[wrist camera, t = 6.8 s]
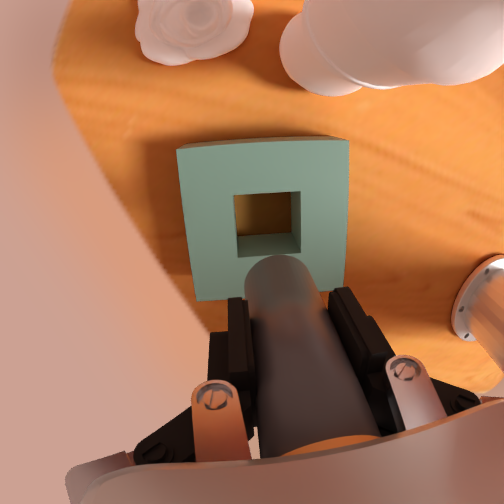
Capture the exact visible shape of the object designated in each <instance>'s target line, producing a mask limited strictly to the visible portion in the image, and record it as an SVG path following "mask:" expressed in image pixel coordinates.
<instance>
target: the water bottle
mask: <svg viewBox="0 0 504 504" xmlns="http://www.w3.org/2000/svg"><path fill="white" fill-rule="evenodd" d="M279 52H280V58H281V62H282V65H283V67H284V69H285V71H286V73H287V74H288V75H289V77H290V78H291V79H292V80H294V81H295V82H296V83H298V84H299V85H300V86H302V87H303V88H305V89H306V90H307V91H309V92H311V93H314V94H318V95H322V96H342V95H346V94H350V93H352V92H355V91H357V90H359V89H360V88H362V87H367V88H373V89H390V88H396V87H400V86H404V85H415V84H428V83H432V84H438V85H458V84H463V83H469V82H472V81H474V80H477V79H479V78H482V77H484V76H487V75H489V74H490V73H492V72H493V71H495V70H496V69H497V68H499V67H500V66H501V65H502V64H503V63H504V0H305V1H304V4H303V10H302V12H300V13H299V14H297V15H296V16H294V17H293V18H292V19H291V20H290V21H289V23H288V24H287V26H286V28H285V29H284V31H283V33H282V36H281V40H280V45H279Z"/></svg>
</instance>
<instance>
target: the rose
mask: <svg viewBox="0 0 504 504" xmlns="http://www.w3.org/2000/svg"><path fill="white" fill-rule="evenodd" d="M138 9H139V15H138V17H137V20H136V25H135V36H136V39H137V40H138V41H139V42H140V45H141V49H142V53H143V54H144V55H145V56H146V57H147V58H148V59H150V60H152V61H154V62H158V63H161V64H164V65H167V66H176V65H182V64H186V63H188V62H191V61H194V60H197V59H198V60H204V59H211V58H215V57H218V56H220V55H223V54H225V53H228V52H230V51H232V50H234V49H235V48H237V47H238V46H239V45H240V44H241V43H242V42H243V41H244V40H245V38H246V37H247V35H248V32H249V27H250V22H251V19H252V17H253V14H254V7H253V4H252V2H251V1H250V0H138Z"/></svg>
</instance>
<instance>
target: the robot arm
mask: <svg viewBox="0 0 504 504" xmlns="http://www.w3.org/2000/svg"><path fill="white" fill-rule="evenodd" d="M328 313H329V315H330V317H331V319H332V322H333V324H334V326H335V328H336V330H337V333H338V335H339V337H340V339H341V342H342V344H343V346H344V348H345V351H346V353H347V355H348V358H349V360H350V362H351V364H352V367H353V369H354V371H355V374H356V376H357V378H358V381H359V383H360V385H361V388H362V390H363V393H364V395H365V397H366V400H367V402H368V404H369V407H370V409H371V412H372V414H373V417H374V419H375V422H376V424H377V426H378V429H379V431H380V434H381V436H382V437H381V438H377V439H373V440H369V441H365V442H361V443H357V444H352V445H347V446H343V447H338V448H333V449H327V450H322V451H316V452H310V453H303V454H296V455H289V456H281V457H273V458H263V459H252V457H251V453H250V448H249V444H248V441H249V440H250V439H251V438H252V437H253V436H254V427H257V419H256V409H255V399H256V395H257V387H256V374H255V363H254V354H253V345H252V335H251V325H250V316H249V306H248V300H242V297H233V298H228V331H226V332H211V333H210V342H209V359H208V378H207V381H206V382H204V383H202V384H200V385H199V386H197V387H196V388H195V389H194V391H193V393H192V397H191V404H192V406H190V407H189V408H188V409H186V410H185V411H184V412H182V413H181V414H179V415H178V416H176V417H175V418H174V419H172V420H171V421H169V422H168V423H167V424H165V425H164V426H162V427H161V428H159V429H158V430H157V431H155V432H154V433H152V434H151V435H149V436H148V437H146V438H145V439H143V440H142V441H141V442H140V443H138V444H137V446H136V448H135V449H134V451H132V452H129V453H126V452H125V451H122V452H119V453H116V454H113V455H111V456H107V457H104V458H101V459H98V460H95V461H91V462H88V463H84V464H81V465H77V466H75V467H73V468H71V470H69V472H68V473H67V475H66V477H65V485H66V488H67V492H68V496H69V499H70V503H71V504H504V398H503V397H488V396H481V398H480V399H478V397H477V396H476V395H475V394H474V393H472V392H470V391H468V390H465V389H462V388H459V387H456V386H453V385H450V384H447V383H444V382H442V381H439V380H436V379H433V378H430V377H429V375H428V373H427V371H426V369H425V367H424V365H423V364H422V362H421V361H419V360H418V359H417V358H415V357H412V356H408V355H398V356H396V355H395V353H394V351H393V350H392V348H391V346H390V345H389V343H388V341H387V340H386V338H385V336H384V335H383V333H382V332H381V330H380V328H379V327H378V325H377V323H376V322H375V320H374V319H373V317H372V316H366V314H365V312H364V311H363V309H362V308H361V306H360V304H359V303H358V301H357V299H356V298H355V296H354V295H353V293H352V291H351V290H350V288H349V287H339V288H334V290H333V292H330V293H329V300H328ZM451 323H452V327H453V330H454V331H455V333H456V334H457V335H458V336H459V338H461V339H462V340H464V341H475V340H477V341H478V342H479V343H480V344H481V346H482V347H483V348H484V349H485V350H486V352H487V353H488V354H489V355H490V357H491V358H492V359H493V360H494V361H495V363H496V364H497V365H498V367H499V368H500V369H501V370H502V372H503V373H504V255H496V256H494V257H491V258H489V259H488V260H486V261H484V262H483V263H482V264H481V265H479V266H478V267H477V268H476V269H475V270H474V271H473V272H472V273H471V274H470V276H469V277H468V278H467V280H466V281H465V282H464V284H463V286H462V287H461V289H460V291H459V293H458V295H457V297H456V300H455V303H454V306H453V310H452V315H451Z"/></svg>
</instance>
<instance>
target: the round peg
mask: <svg viewBox="0 0 504 504" xmlns="http://www.w3.org/2000/svg"><path fill="white" fill-rule="evenodd" d="M244 291H245V300H248V306H249V316H250V325H251V335H252V345H253V354H254V363H255V374H256V387H257V395H256V399H255V409H256V419H257V429H258V439H259V449H260V459H263V458H273V457H281V456H289V455H296V454H303V453H310V452H316V451H322V450H327V449H333V448H338V447H343V446H347V445H352V444H357V443H361V442H365V441H369V440H373V439H377V438H381V437H382V436H381V434H380V431H379V429H378V426H377V424H376V422H375V419H374V417H373V414H372V412H371V409H370V407H369V404H368V402H367V400H366V397H365V395H364V393H363V390H362V388H361V385H360V383H359V381H358V378H357V376H356V374H355V371H354V369H353V367H352V364H351V362H350V360H349V358H348V355H347V353H346V351H345V348H344V346H343V344H342V342H341V339H340V337H339V335H338V333H337V330H336V328H335V326H334V324H333V322H332V319H331V317H330V315H329V313H328V311H327V308H326V306H325V304H324V302H323V300H322V298H321V295H320V293H319V291H318V289H317V287H316V285H315V283H314V280H313V278H312V276H311V274H310V272H309V270H308V268H307V267H306V265H305V264H304V263H303V262H301V261H300V260H299V259H297V258H295V257H292V256H288V255H273V256H269V257H266V258H264V259H262V260H260V261H259V262H257V263H256V264H255V265H254V266H253V267H252V268H251V269H250V270H249V272H248V274H247V276H246V278H245V283H244Z"/></svg>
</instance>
